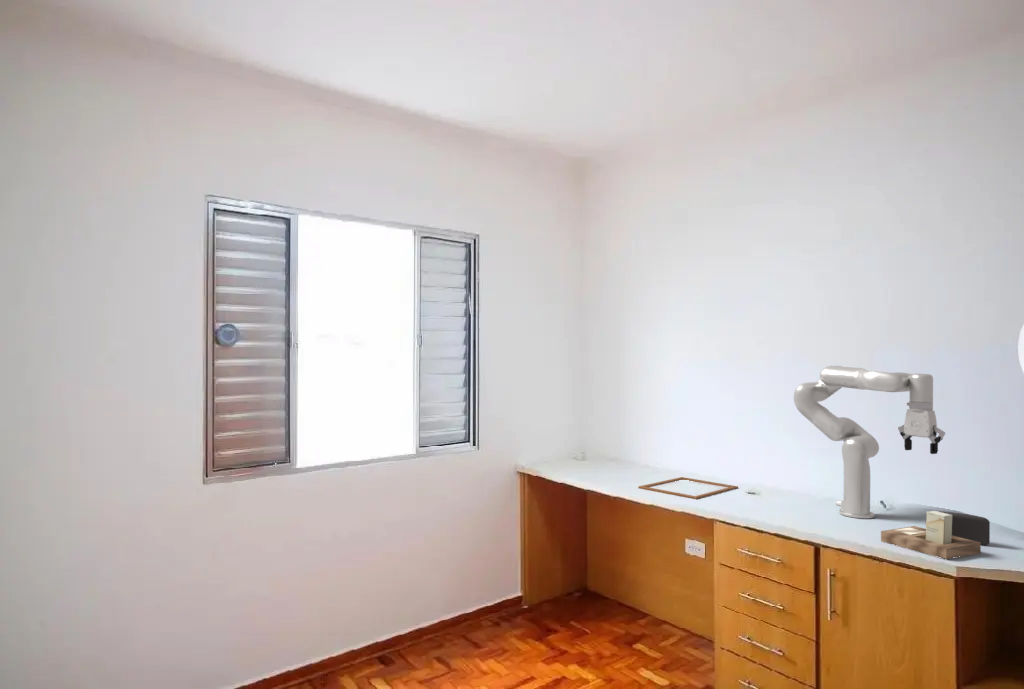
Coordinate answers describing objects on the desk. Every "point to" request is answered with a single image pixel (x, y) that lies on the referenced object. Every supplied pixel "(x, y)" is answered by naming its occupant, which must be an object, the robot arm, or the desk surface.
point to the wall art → (672, 481)
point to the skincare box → (939, 527)
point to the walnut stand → (929, 543)
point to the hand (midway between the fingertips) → (920, 451)
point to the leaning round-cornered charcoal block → (970, 527)
